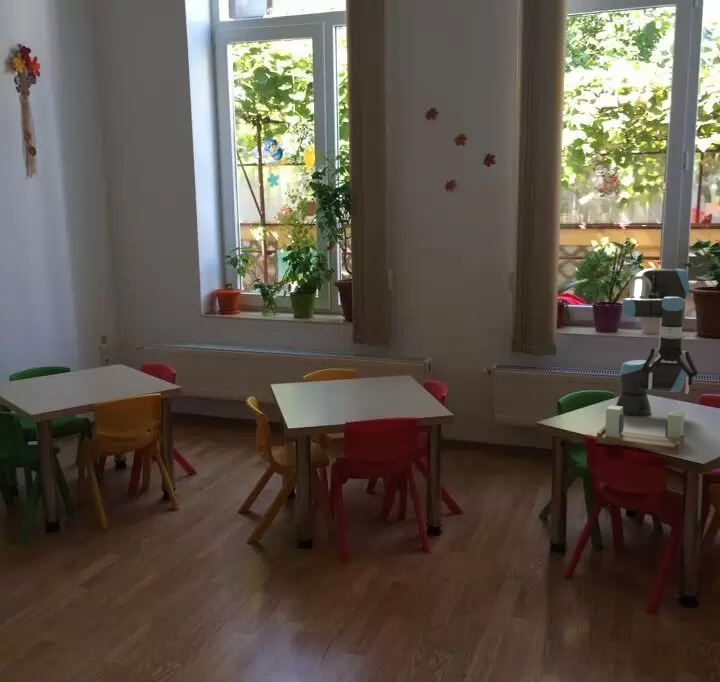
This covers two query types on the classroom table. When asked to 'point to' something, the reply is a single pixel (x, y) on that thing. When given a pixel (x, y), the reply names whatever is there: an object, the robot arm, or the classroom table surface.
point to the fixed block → (614, 421)
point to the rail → (643, 441)
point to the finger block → (674, 425)
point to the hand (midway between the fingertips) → (668, 391)
